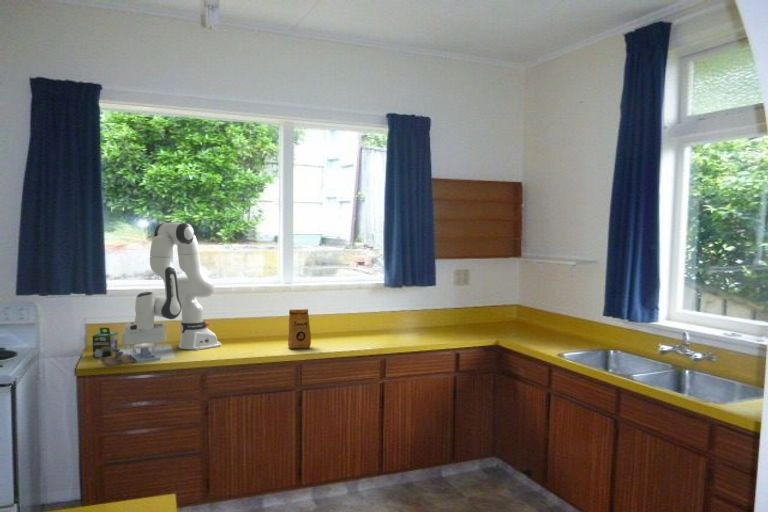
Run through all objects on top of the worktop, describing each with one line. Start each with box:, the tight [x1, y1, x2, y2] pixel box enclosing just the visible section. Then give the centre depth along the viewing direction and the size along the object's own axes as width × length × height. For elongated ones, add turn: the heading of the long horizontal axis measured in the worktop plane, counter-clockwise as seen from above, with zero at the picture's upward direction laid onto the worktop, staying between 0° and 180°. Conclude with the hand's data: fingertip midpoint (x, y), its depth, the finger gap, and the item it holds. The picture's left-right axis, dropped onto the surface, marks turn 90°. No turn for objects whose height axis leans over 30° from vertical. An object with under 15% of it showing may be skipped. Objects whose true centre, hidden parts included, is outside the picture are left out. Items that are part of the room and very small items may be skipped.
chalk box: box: [91, 326, 119, 358], centre depth 279 cm, size 9×9×15 cm
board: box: [101, 347, 136, 368], centre depth 267 cm, size 12×16×5 cm
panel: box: [129, 346, 161, 363], centre depth 275 cm, size 11×15×5 cm
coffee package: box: [287, 308, 312, 350], centre depth 305 cm, size 10×12×22 cm
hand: (144, 351), depth 274 cm, fingers open, 8 cm apart
